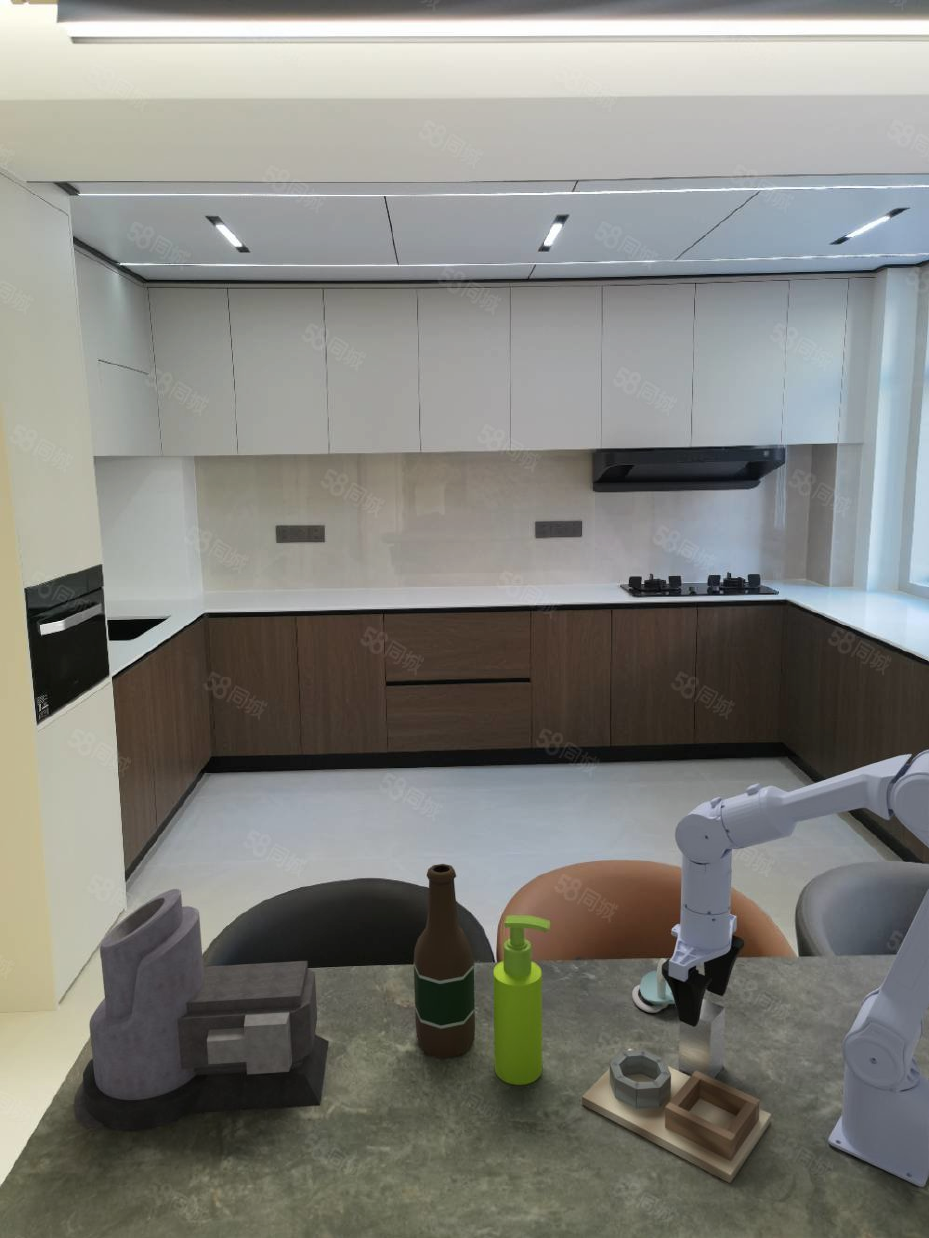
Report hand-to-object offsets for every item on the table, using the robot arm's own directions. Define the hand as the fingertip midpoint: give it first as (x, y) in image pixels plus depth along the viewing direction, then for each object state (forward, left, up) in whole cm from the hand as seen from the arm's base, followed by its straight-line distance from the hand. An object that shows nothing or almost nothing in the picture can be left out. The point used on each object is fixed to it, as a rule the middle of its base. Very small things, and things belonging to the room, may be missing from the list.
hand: (702, 1007), depth 104 cm
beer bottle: (+28, +16, -8) cm, 33 cm away
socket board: (-1, +9, -8) cm, 12 cm away
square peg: (0, 0, -8) cm, 8 cm away
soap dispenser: (+17, +14, -8) cm, 24 cm away
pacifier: (+11, -9, -9) cm, 17 cm away
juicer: (+46, +40, -9) cm, 62 cm away
